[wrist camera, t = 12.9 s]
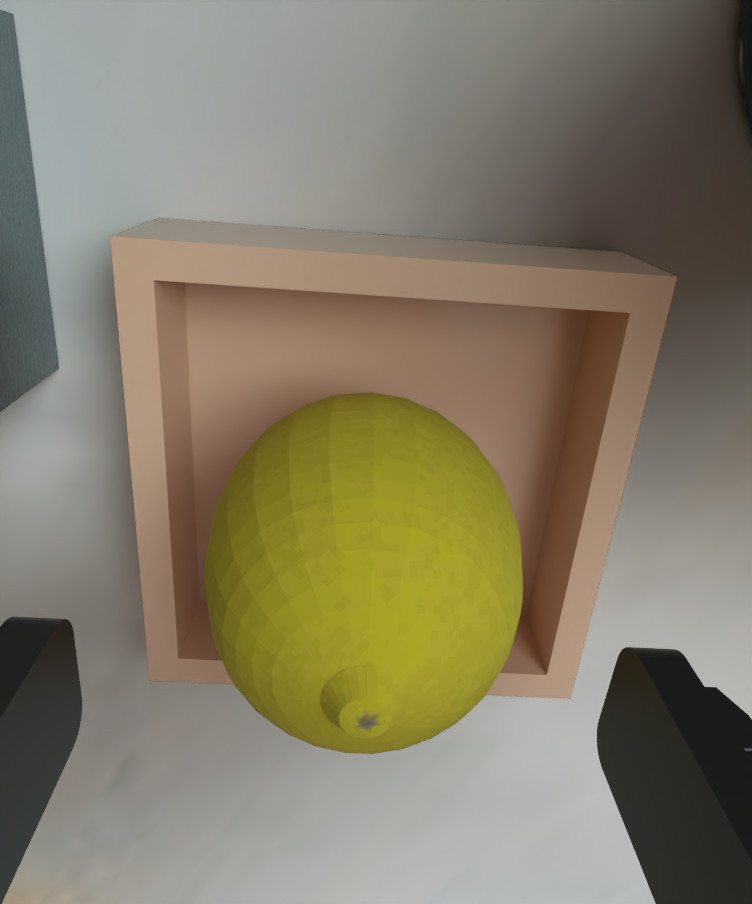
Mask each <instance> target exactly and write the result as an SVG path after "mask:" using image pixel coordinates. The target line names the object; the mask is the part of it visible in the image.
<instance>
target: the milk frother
mask: <svg viewBox="0 0 752 904" xmlns="http://www.w3.org/2000/svg"><path fill="white" fill-rule="evenodd" d="M739 45H740V56H739V69H740V76H741V86H742V91H743V97H744V100H745V102H746V109H747V115H748V118H749V121H750V126H751V129H752V0H743V4H742V10H741V17H740V23H739Z"/></svg>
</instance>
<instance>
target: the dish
mask: <svg viewBox="0 0 752 904" xmlns="http://www.w3.org/2000/svg"><path fill="white" fill-rule="evenodd" d="M110 242H111V253H112V265H113V276H114V287H115V298H116V310H117V321H118V332H119V343H120V355H121V366H122V377H123V388H124V400H125V411H126V422H127V433H128V445H129V456H130V467H131V478H132V490H133V501H134V512H135V524H136V535H137V546H138V557H139V569H140V580H141V591H142V602H143V614H144V625H145V636H146V647H147V659H148V670H149V681H170V682H193V683H216V684H234V683H233V681H232V680H231V678H230V677H229V675H228V673H227V670H226V668H225V666H224V664H223V662H222V659H221V657H220V655H219V653H218V651H217V649H216V646H215V643H214V640H213V637H212V633H211V627H210V621H209V613H208V606H207V598H206V590H205V560H206V554H207V548H208V542H209V537H210V531H211V526H212V520H213V515H214V512H215V508H216V505H217V503H218V501H219V499H220V497H221V494H222V492H223V490H224V488H225V487H226V485H227V483H228V481H229V479H230V477H231V475H232V473H233V471H234V469H235V467H236V465H237V463H238V462H239V460H240V459H241V457H242V456H243V455H244V454H245V453H246V452H247V451H248V450H249V449H250V448H251V446H252V445H253V444H254V443H255V442H256V441H257V440H258V439H259V438H260V437H261V436H262V435H263V433H264V432H265V431H266V430H267V429H268V428H269V427H270V426H272V425H273V424H275V423H276V422H278V421H280V420H281V419H283V418H284V417H286V416H288V415H289V414H291V413H292V412H294V411H296V410H297V409H299V408H301V407H302V406H304V405H307V404H310V403H313V402H316V401H319V400H322V399H325V398H328V397H331V396H334V395H339V394H353V393H367V392H374V393H379V394H385V395H391V396H397V397H402V398H406V399H409V400H411V401H413V402H416V403H418V404H420V405H422V406H425V407H427V408H429V409H432V410H434V411H436V412H438V413H440V414H441V415H443V416H444V417H445V418H446V419H448V420H449V421H450V422H452V423H453V424H454V425H455V426H457V427H458V428H459V429H461V430H462V431H463V432H464V433H466V434H467V435H468V436H469V437H470V438H471V439H472V440H473V441H474V442H475V444H476V445H477V446H478V448H479V449H480V450H481V452H482V453H483V454H484V456H485V457H486V459H487V460H488V461H489V463H490V464H491V465H492V467H493V468H494V470H495V471H496V473H497V474H498V475H499V477H500V479H501V481H502V483H503V485H504V488H505V491H506V494H507V496H508V499H509V502H510V505H511V508H512V510H513V513H514V516H515V519H516V522H517V525H518V529H519V534H520V540H521V558H522V576H523V601H522V607H521V614H520V618H519V622H518V626H517V629H516V633H515V637H514V641H513V645H512V648H511V651H510V654H509V657H508V659H507V661H506V663H505V664H504V666H503V668H502V669H501V671H500V673H499V674H498V676H497V678H496V680H495V681H494V683H493V685H492V686H491V688H490V689H489V691H488V692H487V694H486V695H494V696H517V697H540V698H563V699H571V695H572V691H573V687H574V683H575V679H576V675H577V671H578V667H579V664H580V660H581V656H582V652H583V648H584V644H585V640H586V636H587V632H588V628H589V624H590V620H591V616H592V612H593V608H594V604H595V600H596V596H597V593H598V589H599V585H600V581H601V577H602V573H603V569H604V565H605V561H606V557H607V553H608V549H609V545H610V541H611V537H612V533H613V529H614V525H615V522H616V518H617V514H618V510H619V506H620V502H621V498H622V494H623V490H624V486H625V482H626V478H627V474H628V470H629V466H630V462H631V458H632V454H633V451H634V447H635V443H636V439H637V435H638V431H639V427H640V423H641V419H642V415H643V411H644V407H645V403H646V399H647V395H648V391H649V387H650V383H651V379H652V376H653V372H654V368H655V364H656V360H657V356H658V352H659V348H660V344H661V340H662V336H663V332H664V328H665V324H666V320H667V316H668V312H669V308H670V305H671V301H672V297H673V293H674V289H675V285H676V281H677V276H675V275H672V274H670V273H668V272H665V271H663V270H661V269H658V268H656V267H654V266H652V265H649V264H647V263H645V262H642V261H640V260H638V259H636V258H633V257H631V256H629V255H626V254H624V253H622V252H618V251H604V250H590V249H576V248H563V247H549V246H535V245H521V244H508V243H494V242H480V241H467V240H453V239H439V238H425V237H412V236H398V235H384V234H370V233H357V232H343V231H329V230H315V229H302V228H288V227H274V226H261V225H247V224H233V223H219V222H206V221H192V220H178V219H164V218H157V219H154V220H152V221H149V222H146V223H144V224H141V225H139V226H136V227H133V228H131V229H128V230H125V231H123V232H120V233H117V234H115V235H112V236H110Z"/></svg>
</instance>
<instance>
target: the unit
mask: <svg viewBox="0 0 752 904" xmlns="http://www.w3.org/2000/svg"><path fill="white" fill-rule="evenodd" d="M57 369H59V366H58V358H57V350H56V342H55V335H54V327H53V319H52V311H51V304H50V296H49V288H48V280H47V273H46V265H45V257H44V249H43V242H42V234H41V226H40V218H39V211H38V203H37V195H36V188H35V180H34V172H33V164H32V157H31V149H30V141H29V133H28V126H27V118H26V110H25V102H24V95H23V87H22V79H21V71H20V64H19V56H18V48H17V40H16V33H15V25H14V17H13V14H11V13H8V12H6V11H3V10H0V412H1V411H2V410H4V409H5V408H6V407H8V406H9V405H10V404H12V403H13V402H14V401H16V400H17V399H18V398H20V397H21V396H22V395H24V394H25V393H26V392H28V391H29V390H30V389H32V388H33V387H34V386H36V385H37V384H38V383H40V382H41V381H42V380H44V379H45V378H46V377H48V376H49V375H51V374H52V373H53V372H55V371H56V370H57Z"/></svg>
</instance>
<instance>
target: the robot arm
mask: <svg viewBox="0 0 752 904" xmlns="http://www.w3.org/2000/svg"><path fill="white" fill-rule="evenodd" d="M81 714H82V696H81V688H80V681H79V673H78V665H77V657H76V649H75V641H74V633H73V628H72V625H71V623H70V621H68V620H66V619H50V618H29V617H11V618H9V619H7V620H6V621H5V622H4V623H3V624H2V626H1V627H0V904H2V902H3V900H4V897H5V895H6V893H7V891H8V889H9V887H10V884H11V882H12V880H13V878H14V876H15V873H16V871H17V869H18V867H19V865H20V863H21V860H22V858H23V856H24V854H25V852H26V849H27V847H28V845H29V843H30V841H31V839H32V836H33V834H34V832H35V830H36V828H37V825H38V823H39V821H40V819H41V817H42V815H43V812H44V810H45V808H46V806H47V804H48V801H49V799H50V797H51V795H52V793H53V791H54V788H55V786H56V784H57V782H58V780H59V777H60V775H61V773H62V771H63V769H64V767H65V764H66V762H67V760H68V758H69V756H70V753H71V751H72V749H73V747H74V744H75V741H76V738H77V735H78V731H79V727H80V721H81ZM597 747H598V754H599V759H600V763H601V766H602V769H603V772H604V774H605V777H606V779H607V782H608V784H609V787H610V789H611V792H612V794H613V797H614V799H615V802H616V804H617V807H618V810H619V812H620V815H621V817H622V820H623V822H624V825H625V827H626V830H627V832H628V835H629V837H630V840H631V842H632V845H633V847H634V850H635V852H636V855H637V857H638V860H639V862H640V865H641V867H642V870H643V873H644V875H645V878H646V880H647V883H648V885H649V888H650V890H651V893H652V895H653V898H654V900H655V903H656V904H752V720H751V718H750V717H749V715H747V714H746V713H745V712H744V711H743V710H742V709H740V708H739V707H738V706H737V705H736V704H735V703H733V702H732V701H731V700H730V699H729V698H728V697H727V696H725V695H724V694H723V693H722V692H721V691H720V690H718V689H717V688H716V687H704V686H703V684H702V682H701V681H700V679H699V678H698V676H697V675H696V673H695V672H694V670H693V668H692V667H691V665H690V664H689V662H688V661H687V659H686V658H685V656H684V655H683V654H682V653H681V652H679V651H678V650H674V649H653V648H632V647H627V648H624V649H623V650H622V651H621V652H620V654H619V656H618V659H617V662H616V665H615V669H614V672H613V675H612V679H611V682H610V685H609V689H608V692H607V695H606V699H605V702H604V705H603V709H602V712H601V715H600V719H599V722H598V728H597Z"/></svg>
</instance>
